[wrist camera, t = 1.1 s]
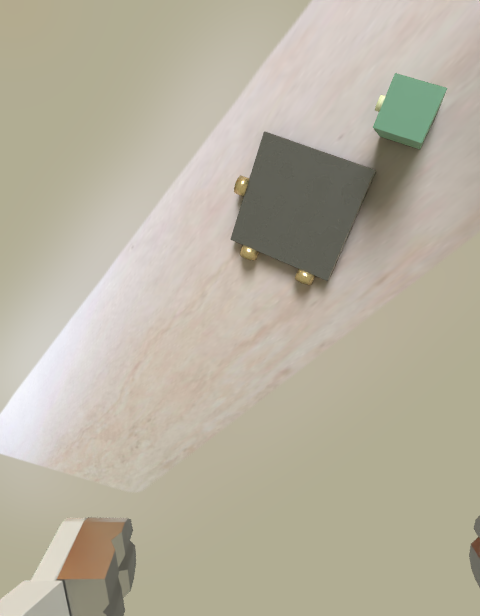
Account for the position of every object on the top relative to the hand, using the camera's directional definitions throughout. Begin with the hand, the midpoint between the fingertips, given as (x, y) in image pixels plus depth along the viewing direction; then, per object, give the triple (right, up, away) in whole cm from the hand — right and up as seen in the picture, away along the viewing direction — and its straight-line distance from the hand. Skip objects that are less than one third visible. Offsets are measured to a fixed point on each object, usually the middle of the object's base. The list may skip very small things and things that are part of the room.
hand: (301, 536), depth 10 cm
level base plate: (+5, +16, +35) cm, 39 cm away
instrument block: (+15, +23, +29) cm, 40 cm away
